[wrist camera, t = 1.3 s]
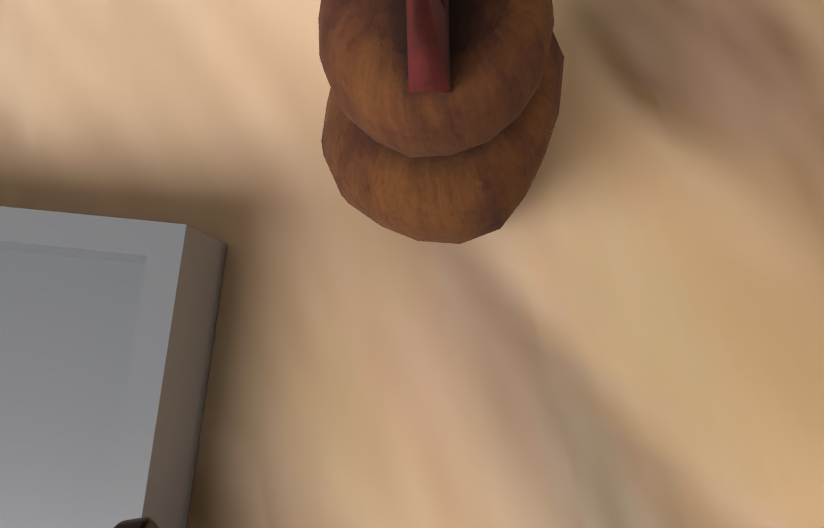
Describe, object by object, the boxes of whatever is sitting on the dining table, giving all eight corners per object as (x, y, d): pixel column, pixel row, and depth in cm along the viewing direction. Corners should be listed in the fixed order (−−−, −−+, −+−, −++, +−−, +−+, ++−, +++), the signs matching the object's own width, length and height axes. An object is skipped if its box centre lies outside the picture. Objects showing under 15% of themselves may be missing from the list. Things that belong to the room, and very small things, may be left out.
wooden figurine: (491, 288, 23) (538, 153, 8) (328, 222, 24) (93, -14, 9) (568, 98, 24) (742, -350, 9) (407, 40, 24) (313, -467, 9)
